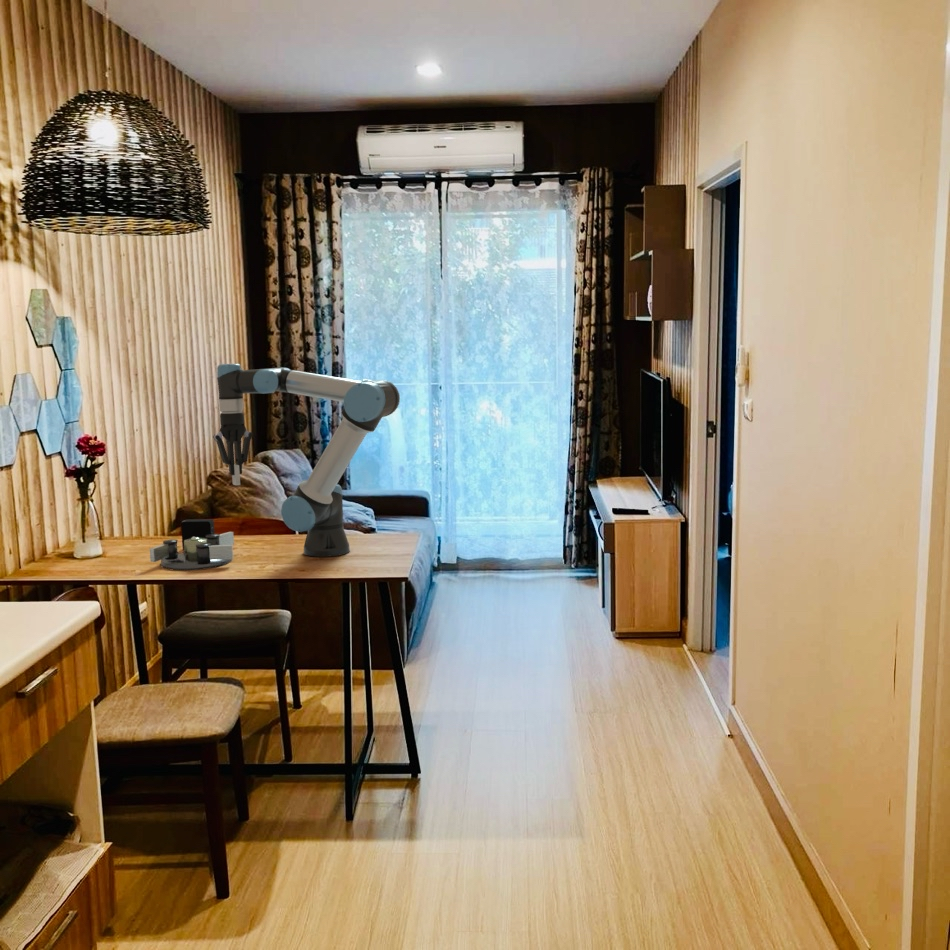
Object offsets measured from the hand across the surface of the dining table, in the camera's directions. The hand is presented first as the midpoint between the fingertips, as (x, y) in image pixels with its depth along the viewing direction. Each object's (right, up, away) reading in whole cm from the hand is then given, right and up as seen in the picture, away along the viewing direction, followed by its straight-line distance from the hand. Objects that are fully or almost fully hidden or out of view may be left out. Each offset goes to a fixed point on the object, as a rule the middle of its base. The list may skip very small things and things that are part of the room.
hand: (236, 484), depth 313 cm
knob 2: (-7, -22, +8) cm, 24 cm away
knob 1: (-22, -24, -6) cm, 33 cm away
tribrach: (-12, -25, -2) cm, 28 cm away
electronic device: (-17, -22, +17) cm, 33 cm away
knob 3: (-5, -24, -9) cm, 26 cm away
